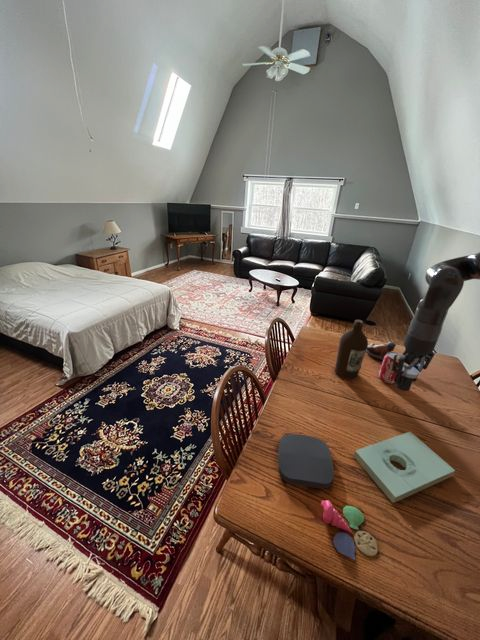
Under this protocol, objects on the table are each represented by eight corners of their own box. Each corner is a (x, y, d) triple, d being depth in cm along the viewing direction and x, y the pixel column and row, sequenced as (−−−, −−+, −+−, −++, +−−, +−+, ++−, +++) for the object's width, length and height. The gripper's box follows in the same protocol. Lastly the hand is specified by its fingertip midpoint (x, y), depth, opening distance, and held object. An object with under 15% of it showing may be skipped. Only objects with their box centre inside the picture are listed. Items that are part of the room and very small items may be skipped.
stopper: (401, 380, 88) (408, 363, 85) (416, 390, 83) (423, 373, 80) (389, 383, 86) (395, 366, 83) (403, 394, 82) (410, 376, 79)
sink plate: (407, 437, 86) (410, 431, 85) (451, 476, 74) (455, 470, 73) (353, 456, 79) (355, 450, 78) (392, 503, 67) (395, 497, 66)
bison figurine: (361, 354, 130) (366, 336, 126) (368, 349, 135) (373, 331, 131) (387, 365, 123) (393, 346, 118) (393, 359, 127) (399, 341, 123)
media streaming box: (278, 483, 70) (279, 475, 69) (278, 437, 83) (279, 430, 82) (335, 492, 69) (337, 484, 67) (326, 444, 82) (328, 437, 81)
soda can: (399, 385, 110) (408, 360, 105) (382, 384, 110) (391, 360, 104) (390, 374, 116) (398, 351, 111) (374, 374, 116) (382, 350, 111)
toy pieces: (322, 553, 57) (326, 542, 55) (318, 500, 67) (321, 488, 65) (382, 567, 55) (388, 556, 53) (368, 510, 65) (373, 499, 63)
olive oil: (328, 367, 119) (339, 316, 109) (349, 364, 122) (362, 314, 111) (341, 382, 110) (355, 328, 99) (364, 379, 112) (380, 326, 102)
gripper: (416, 343, 71) (397, 393, 78) (453, 337, 76) (432, 384, 83) (392, 331, 77) (377, 378, 85) (428, 325, 82) (411, 370, 89)
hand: (404, 381), depth 84 cm, fingers closed on stopper, 5 cm apart
